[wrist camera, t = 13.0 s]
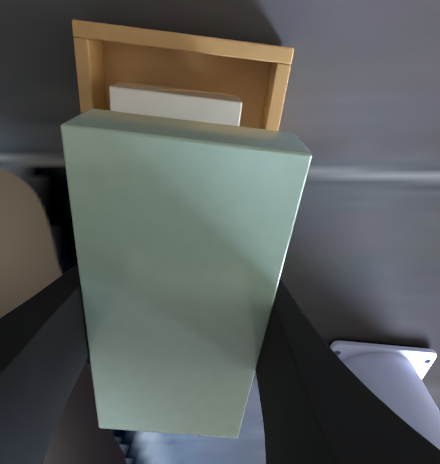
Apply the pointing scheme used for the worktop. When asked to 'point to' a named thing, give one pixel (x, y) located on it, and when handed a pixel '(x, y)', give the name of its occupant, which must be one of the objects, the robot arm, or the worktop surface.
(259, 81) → the tray
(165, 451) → the worktop surface
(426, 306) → the worktop surface
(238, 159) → the sage green thick block
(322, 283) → the worktop surface
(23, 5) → the worktop surface
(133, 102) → the off-white rectangular slab
